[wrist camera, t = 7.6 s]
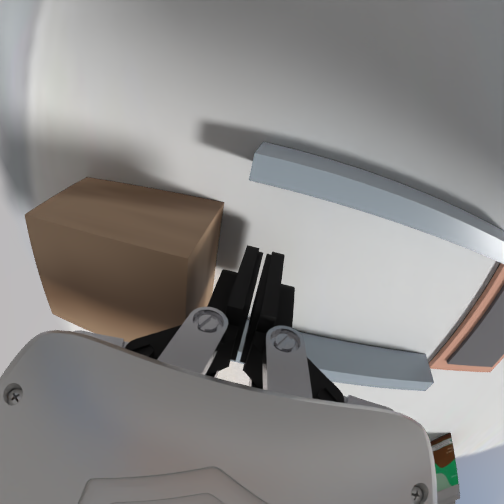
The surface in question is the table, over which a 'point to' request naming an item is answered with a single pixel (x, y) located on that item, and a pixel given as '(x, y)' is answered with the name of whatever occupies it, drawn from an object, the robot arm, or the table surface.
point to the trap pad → (478, 333)
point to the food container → (445, 470)
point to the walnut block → (125, 256)
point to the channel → (386, 206)
